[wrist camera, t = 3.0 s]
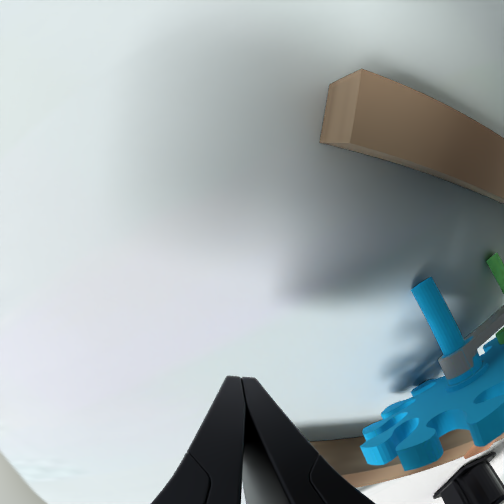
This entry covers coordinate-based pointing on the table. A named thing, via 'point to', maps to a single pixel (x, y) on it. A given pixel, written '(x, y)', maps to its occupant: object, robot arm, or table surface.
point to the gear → (446, 388)
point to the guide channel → (422, 159)
